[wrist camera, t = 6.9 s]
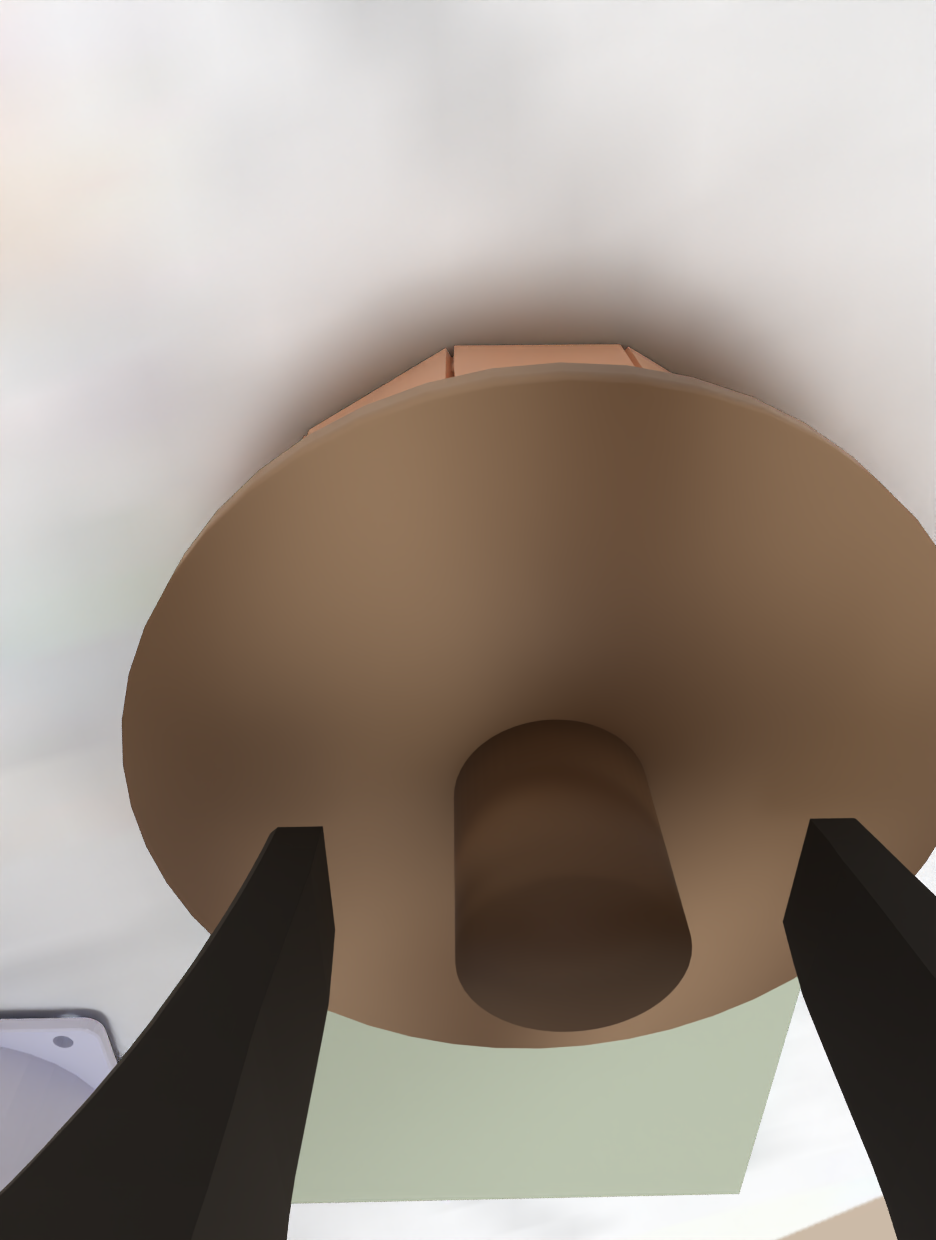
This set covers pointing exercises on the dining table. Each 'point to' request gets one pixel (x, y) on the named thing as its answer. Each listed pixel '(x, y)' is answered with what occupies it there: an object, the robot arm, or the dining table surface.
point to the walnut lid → (542, 695)
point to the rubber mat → (540, 1112)
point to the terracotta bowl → (496, 365)
